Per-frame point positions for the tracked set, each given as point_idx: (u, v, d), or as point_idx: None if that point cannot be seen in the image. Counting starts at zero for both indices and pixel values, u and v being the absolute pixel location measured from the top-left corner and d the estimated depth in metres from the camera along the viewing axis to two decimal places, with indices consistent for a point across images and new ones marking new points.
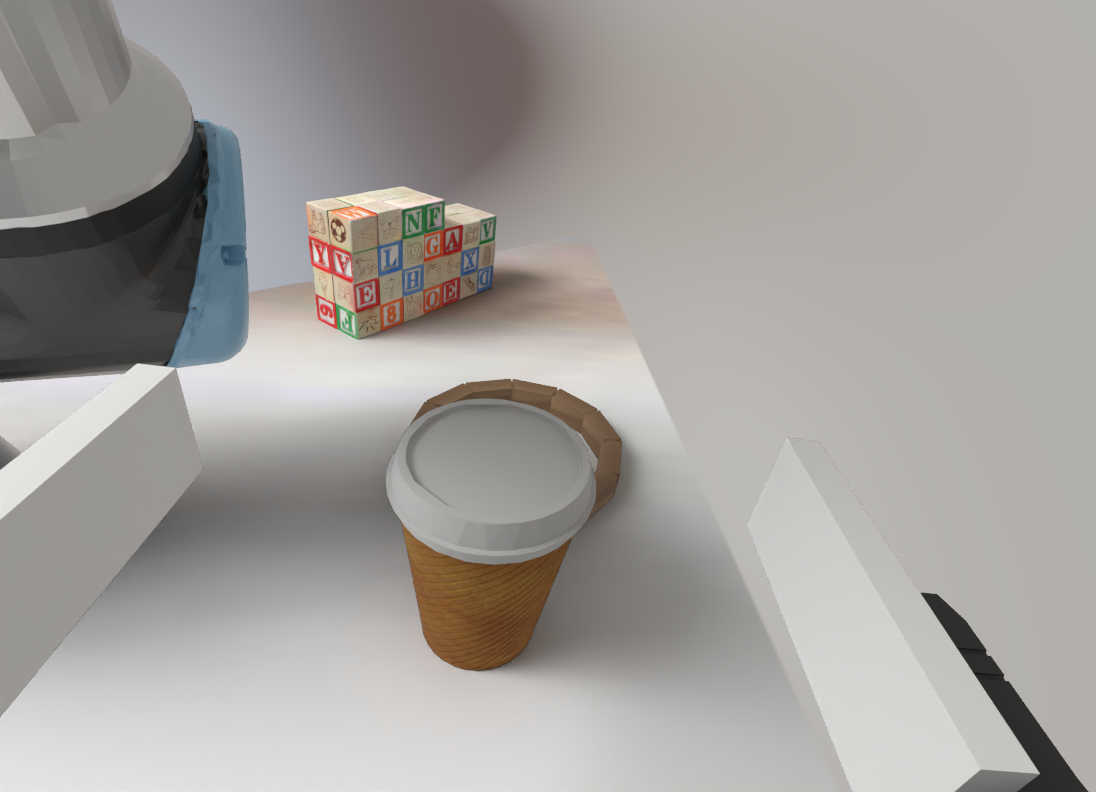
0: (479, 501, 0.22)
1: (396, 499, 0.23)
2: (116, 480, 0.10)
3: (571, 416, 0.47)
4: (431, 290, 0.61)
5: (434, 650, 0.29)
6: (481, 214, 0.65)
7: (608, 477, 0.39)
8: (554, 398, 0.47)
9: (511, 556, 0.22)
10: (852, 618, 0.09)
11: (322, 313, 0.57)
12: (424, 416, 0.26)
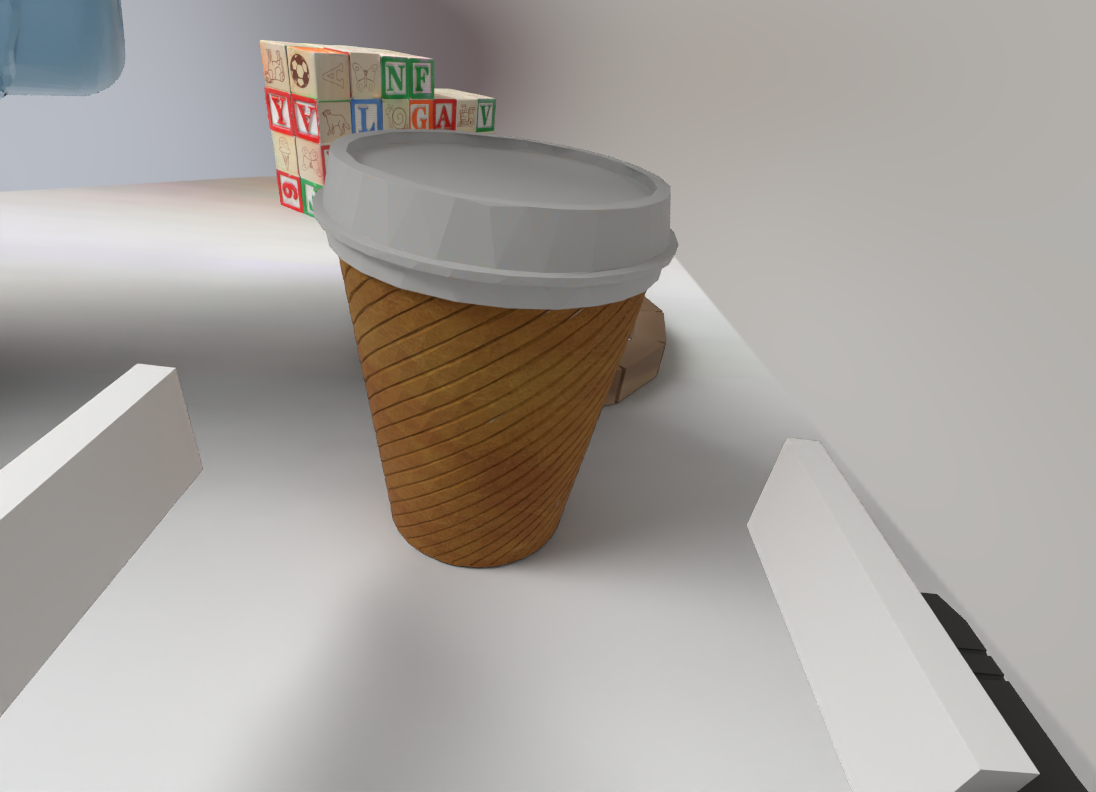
0: None
1: (327, 210, 0.13)
2: (116, 480, 0.10)
3: None
4: None
5: (409, 539, 0.18)
6: (478, 96, 0.55)
7: (651, 345, 0.29)
8: None
9: (542, 281, 0.11)
10: (852, 618, 0.09)
11: (285, 195, 0.47)
12: (386, 130, 0.16)
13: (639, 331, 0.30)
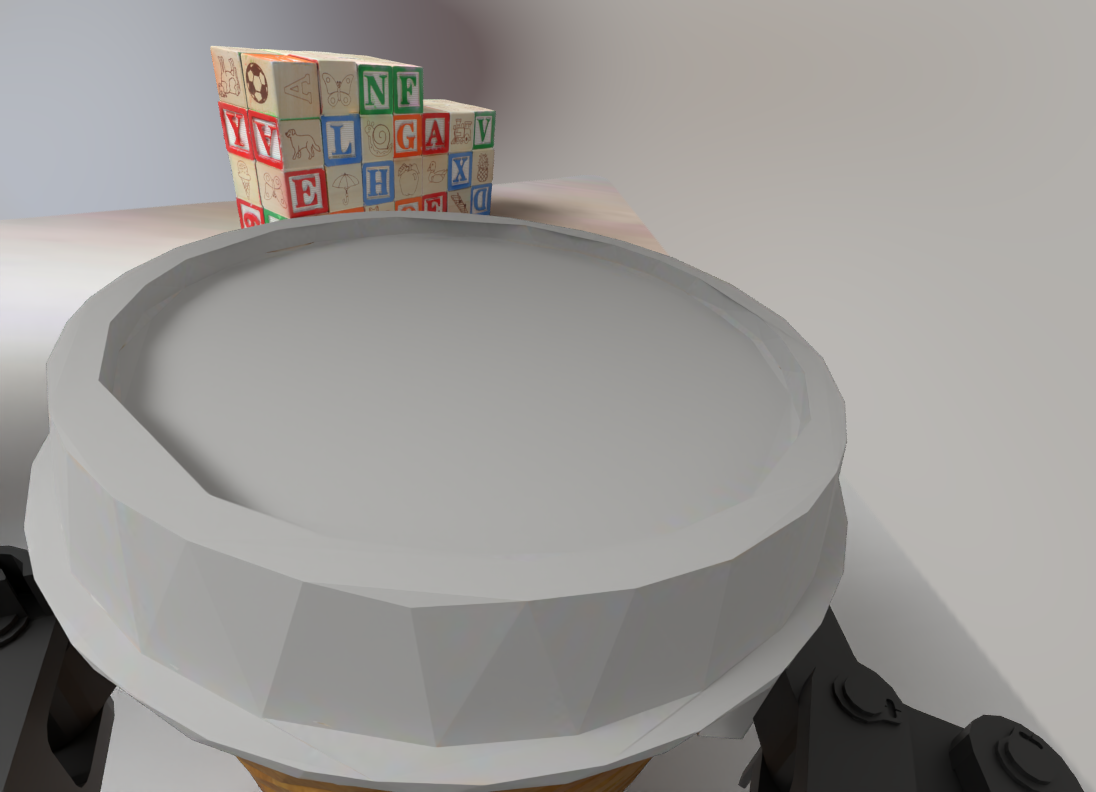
0: (405, 478, 0.05)
1: None
2: None
3: None
4: (406, 203, 0.44)
5: None
6: (476, 108, 0.48)
7: None
8: None
9: (572, 775, 0.04)
10: None
11: (247, 227, 0.40)
12: (267, 226, 0.08)
13: None
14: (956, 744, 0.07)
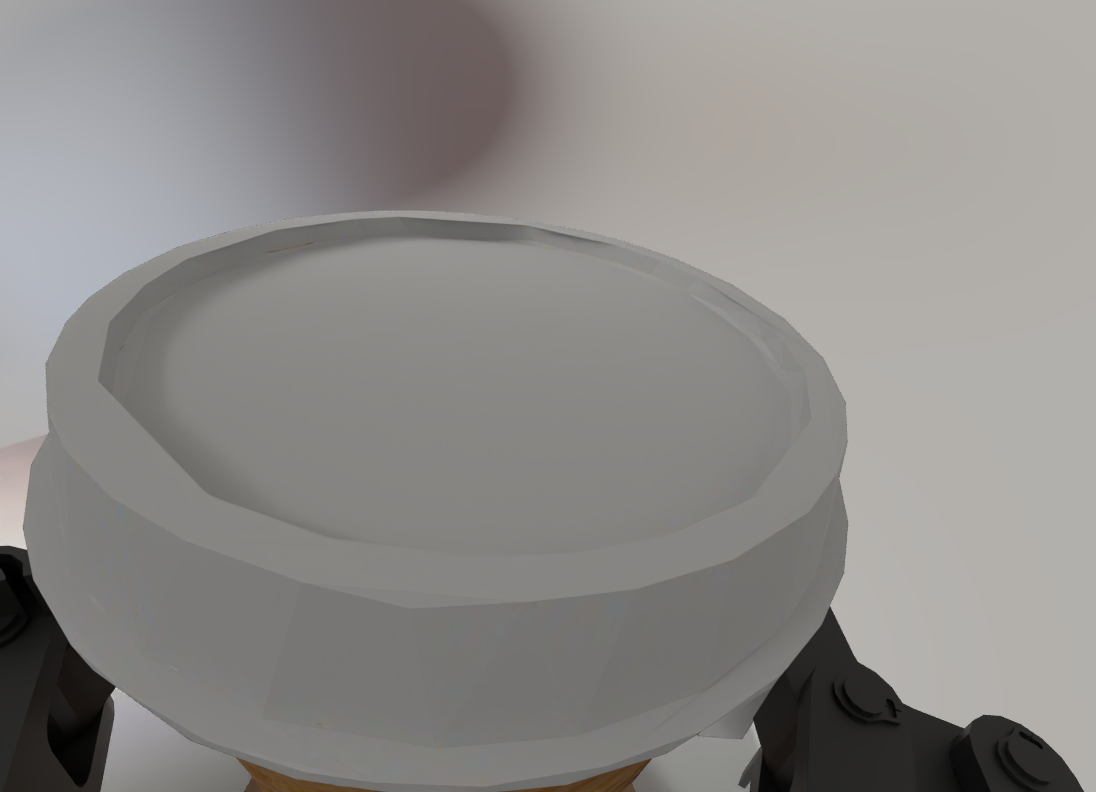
0: (406, 478, 0.05)
1: None
2: None
3: None
4: None
5: None
6: None
7: None
8: None
9: (572, 776, 0.04)
10: None
11: None
12: (266, 226, 0.08)
13: None
14: (957, 744, 0.07)
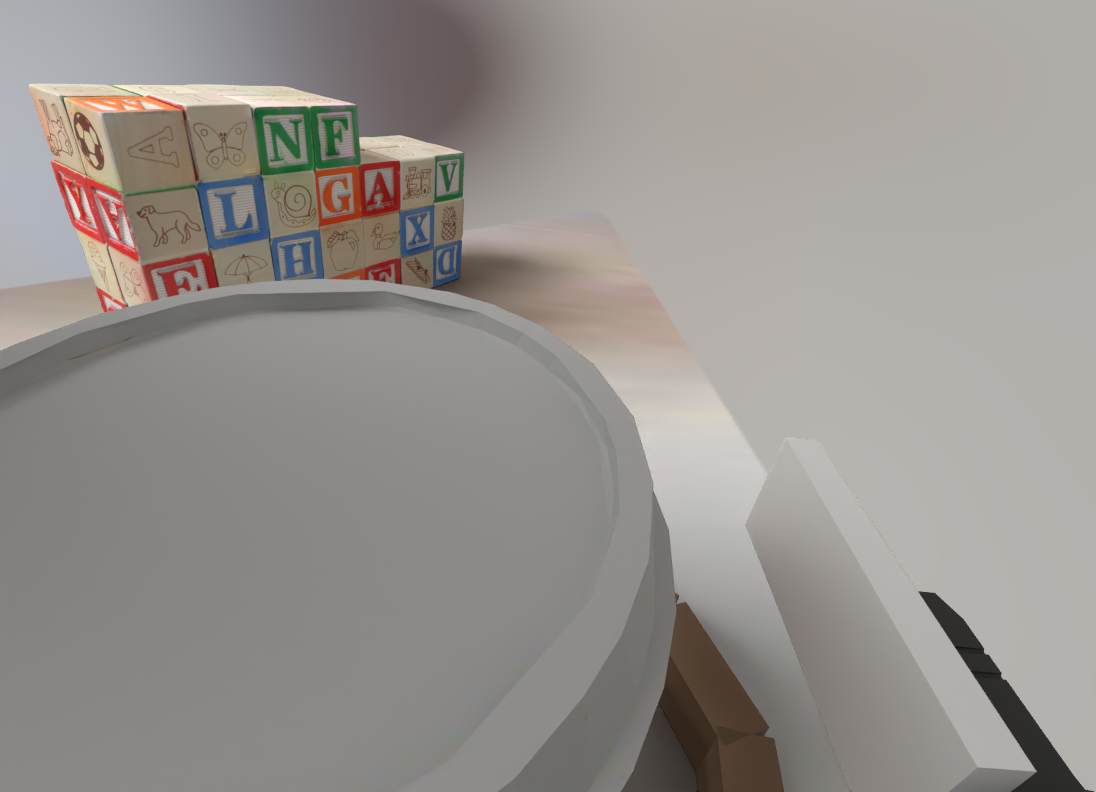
0: (63, 732, 0.04)
1: None
2: None
3: None
4: None
5: None
6: (438, 150, 0.37)
7: None
8: None
9: None
10: (850, 617, 0.09)
11: None
12: (70, 328, 0.08)
13: None
14: None
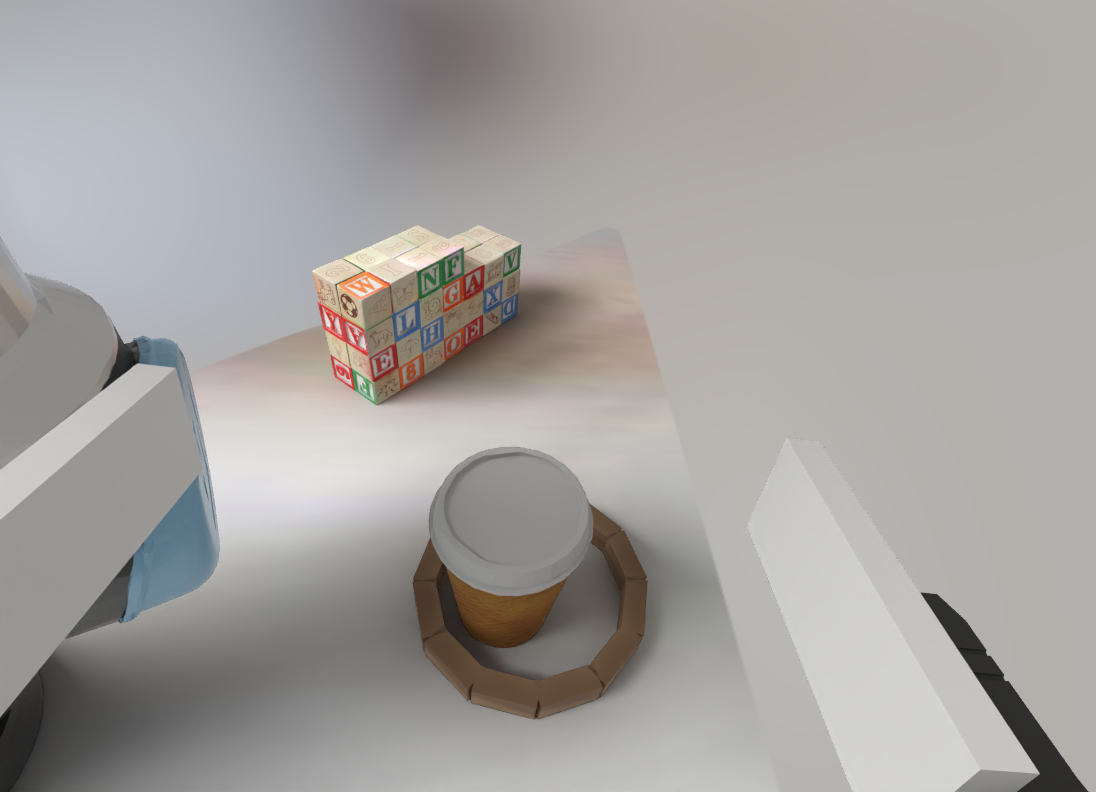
0: (504, 551, 0.29)
1: (440, 548, 0.30)
2: (116, 480, 0.10)
3: (593, 534, 0.43)
4: (452, 336, 0.57)
5: (471, 634, 0.37)
6: (505, 244, 0.59)
7: (630, 641, 0.36)
8: None
9: (531, 592, 0.29)
10: (852, 618, 0.09)
11: (338, 372, 0.54)
12: (453, 471, 0.32)
13: (623, 618, 0.37)
14: None
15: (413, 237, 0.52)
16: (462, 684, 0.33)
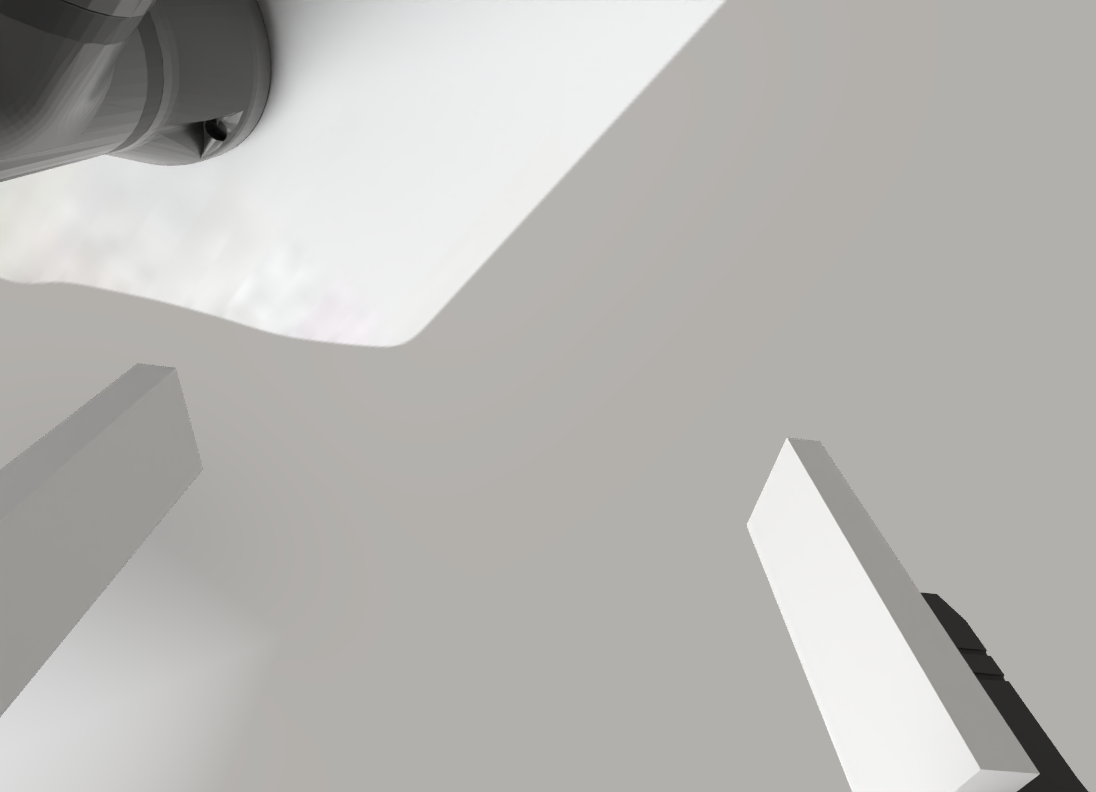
0: None
1: None
2: (116, 480, 0.10)
3: None
4: None
5: None
6: None
7: None
8: None
9: None
10: (852, 618, 0.09)
11: None
12: None
13: None
14: None
15: None
16: None
